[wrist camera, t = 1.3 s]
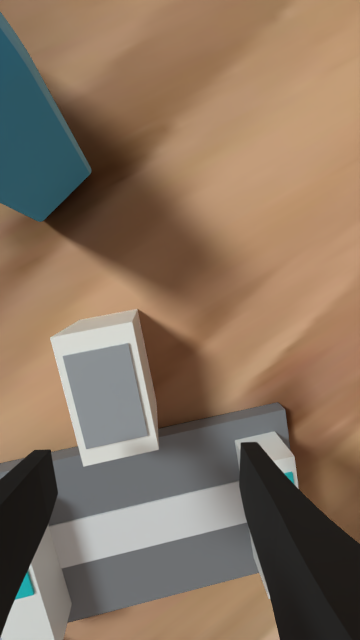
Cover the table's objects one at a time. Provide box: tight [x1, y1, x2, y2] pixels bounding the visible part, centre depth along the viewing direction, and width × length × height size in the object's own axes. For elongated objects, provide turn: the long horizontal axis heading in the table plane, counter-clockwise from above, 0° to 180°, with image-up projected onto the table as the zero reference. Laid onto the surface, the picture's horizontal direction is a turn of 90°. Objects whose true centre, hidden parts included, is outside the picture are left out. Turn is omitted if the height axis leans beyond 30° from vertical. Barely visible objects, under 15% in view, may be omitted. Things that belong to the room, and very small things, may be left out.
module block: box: [50, 309, 159, 467], centre depth 18 cm, size 4×7×6 cm, turn 10°
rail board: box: [0, 402, 299, 640], centre depth 20 cm, size 22×13×4 cm, turn 100°
